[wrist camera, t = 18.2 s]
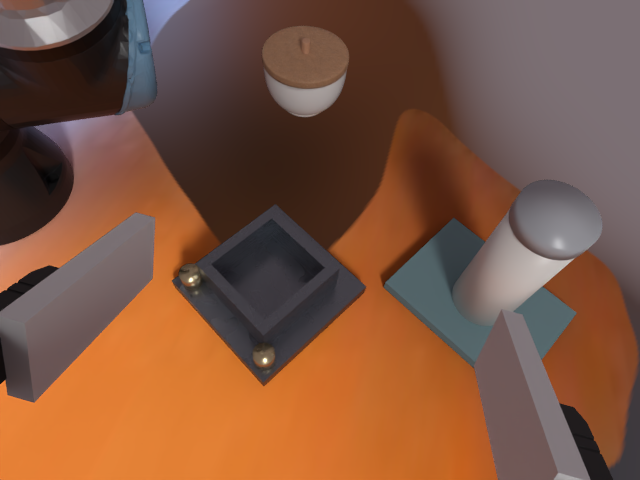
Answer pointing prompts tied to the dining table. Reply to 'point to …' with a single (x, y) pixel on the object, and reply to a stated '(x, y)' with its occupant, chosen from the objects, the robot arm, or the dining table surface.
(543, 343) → the mat
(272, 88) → the lidded jar
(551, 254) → the cylinder
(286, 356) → the housing
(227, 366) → the dining table surface
